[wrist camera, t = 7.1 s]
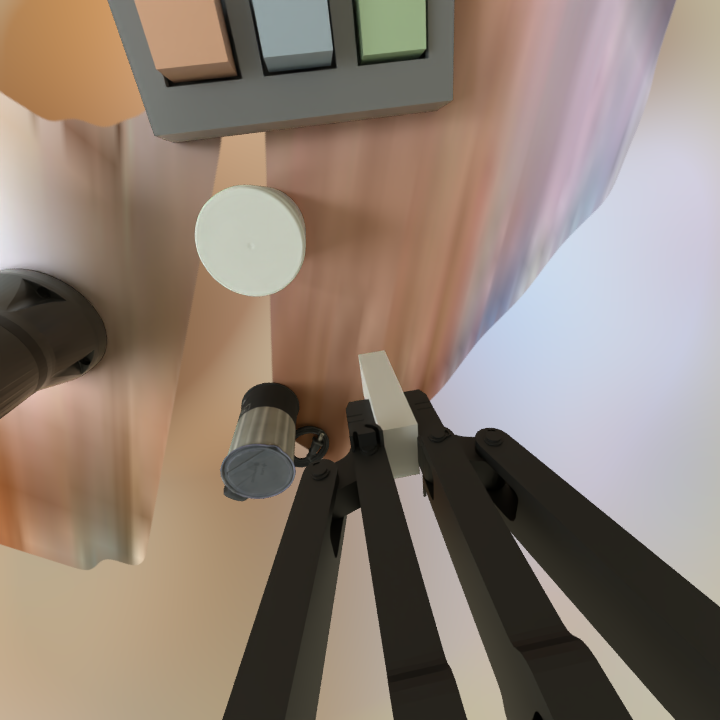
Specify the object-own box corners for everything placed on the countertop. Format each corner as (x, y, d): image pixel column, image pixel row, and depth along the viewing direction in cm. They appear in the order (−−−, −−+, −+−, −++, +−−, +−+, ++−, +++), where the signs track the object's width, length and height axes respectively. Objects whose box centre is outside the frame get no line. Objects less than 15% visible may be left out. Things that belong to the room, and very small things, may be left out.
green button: (358, 69, 34) (363, 55, 30) (350, -13, 31) (355, -39, 27) (414, 63, 34) (426, 48, 31) (412, -19, 31) (424, -45, 28)
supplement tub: (232, 264, 43) (198, 297, 30) (224, 182, 38) (179, 179, 25) (307, 268, 44) (305, 300, 31) (307, 189, 40) (304, 189, 27)
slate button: (269, 72, 31) (263, 57, 28) (251, -17, 28) (243, -45, 25) (330, 65, 32) (333, 50, 28) (319, -23, 29) (320, -52, 25)
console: (174, 142, 36) (154, 136, 32) (113, -42, 29) (78, -83, 25) (436, 110, 38) (452, 100, 33) (435, -70, 31) (456, -113, 27)
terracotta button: (174, 83, 31) (156, 69, 27) (146, -6, 28) (123, -35, 24) (237, 76, 31) (228, 61, 28) (217, -13, 28) (203, -42, 25)
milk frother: (247, 375, 50) (224, 440, 37) (344, 394, 54) (354, 458, 41) (233, 444, 56) (210, 521, 43) (322, 457, 60) (325, 530, 47)
